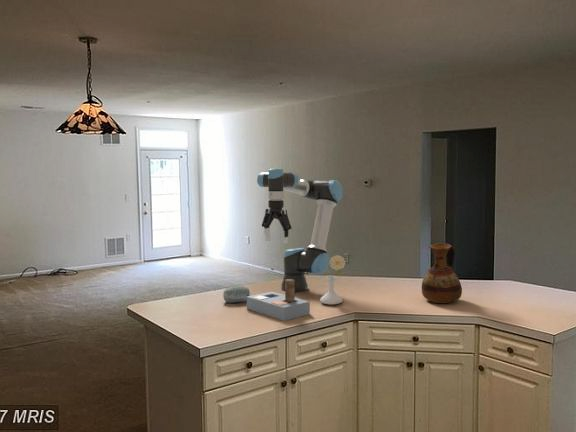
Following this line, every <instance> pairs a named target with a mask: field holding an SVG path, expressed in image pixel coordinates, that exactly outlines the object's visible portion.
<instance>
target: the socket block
mask: <svg viewBox="0 0 576 432" xmlns="http://www.w3.org/2000/svg"><path fill="white" fill-rule="evenodd" d="M246 309H247V310H249V311H253V312H256V313H259V314H261V315H265V316H268V317H271V318H274V319H277V320H280V321H283V322H284V321H289V320H293V319H297V318H299V317H304V316H308V315H310V314H311V313H310V311H311V309H310V301H308V300H305V299H301V298H298V297H295V302H293V303H287V302H285V294H283V293H279V292H276V291H267V292H262V293H257V294H252V295H250V296H247V301H246Z"/></svg>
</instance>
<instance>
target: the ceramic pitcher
mask: <svg viewBox="0 0 576 432" xmlns="http://www.w3.org/2000/svg"><path fill="white" fill-rule="evenodd" d="M428 247H429V249H430V250H431V251H432V252H433V254H434V255H433V256H434V264H433V266H432V267H429V269H428V270H427V272H426V273H425V275H424V277H423V278H422V282H421V294H422V296H423V298H425V300H427V301H430V302H432V303H435V304H436V303H437V304H439V303H440V304H447V303H453V302H455V301H458V300H460V299H461V297H462V294H463V288H462V287H463V286H462V284H461V281H460V279H459V277H458V275H457V274H456V272H455V271H454V270H453V266H454V260H455V255H456V253H455V248H454V246H452V245H451V244H449V243H445V242H444V243H434V244H431V245H429V246H428Z"/></svg>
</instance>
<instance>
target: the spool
mask: <svg viewBox="0 0 576 432" xmlns="http://www.w3.org/2000/svg"><path fill="white" fill-rule="evenodd" d="M250 293H251V292H250V289H249V288H248V287H247V286H243V285H234V286H233V285H232V286H229V287H226V288H225V289H224V290H223V294H222V295H223V297H222V298H223V300H224V302H226V303H227V304H231V303H232V304H233V303H234V304H235V303H245V302H247V296H251V294H250Z"/></svg>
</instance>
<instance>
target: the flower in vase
mask: <svg viewBox="0 0 576 432" xmlns="http://www.w3.org/2000/svg"><path fill="white" fill-rule="evenodd" d="M329 259H330V262H329V266H330V268H331V269H333V270H335V271H334V273H333V272H331V271H329V270H326V272H327V273H329V274H332V275H326V278H327V281H328V291H327V292H326V293H325V294H324V295H322V297H320V299H319V301H320V302H321V303H322V304H325V305H339V304H341V303H343V299H342V297H341V295H339V294H338V293H336V292H335V290H334V285H335V284H334V283H335V281H336V279H337V276H336V275H335V274H337V275H338V276H340V275H344V274H345V271H342V269H344V267H345V266H346V261H345V258H344V257H343V256H341V255H337V254H336V255H333V256H331V258H329Z"/></svg>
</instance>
